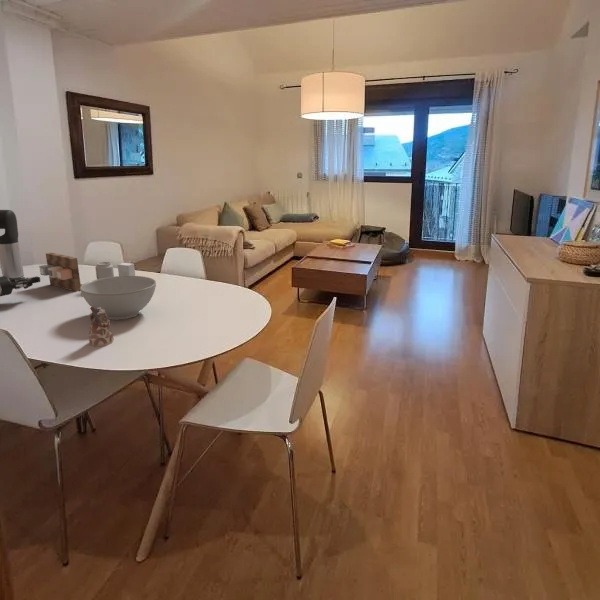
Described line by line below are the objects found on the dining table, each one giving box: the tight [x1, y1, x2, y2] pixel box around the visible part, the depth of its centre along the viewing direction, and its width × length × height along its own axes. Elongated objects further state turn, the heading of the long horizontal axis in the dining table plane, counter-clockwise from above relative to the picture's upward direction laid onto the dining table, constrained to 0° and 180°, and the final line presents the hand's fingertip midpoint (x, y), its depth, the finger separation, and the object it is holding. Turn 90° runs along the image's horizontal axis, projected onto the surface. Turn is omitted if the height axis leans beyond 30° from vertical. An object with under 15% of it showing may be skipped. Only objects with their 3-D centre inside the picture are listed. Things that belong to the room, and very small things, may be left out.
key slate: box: [38, 264, 54, 277], centre depth 210 cm, size 4×6×4 cm, turn 147°
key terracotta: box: [56, 268, 73, 280], centre depth 203 cm, size 4×6×4 cm, turn 147°
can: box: [95, 261, 115, 280], centre depth 209 cm, size 8×8×12 cm
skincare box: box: [117, 262, 136, 276], centre depth 207 cm, size 6×4×12 cm
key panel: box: [45, 252, 83, 292], centre depth 210 cm, size 21×6×15 cm, turn 57°
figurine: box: [88, 306, 115, 347], centre depth 146 cm, size 7×7×12 cm
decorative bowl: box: [79, 275, 157, 320], centre depth 173 cm, size 27×27×12 cm
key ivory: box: [48, 266, 63, 278], centre depth 206 cm, size 4×6×4 cm, turn 147°
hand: (39, 279), depth 193 cm, fingers closed
